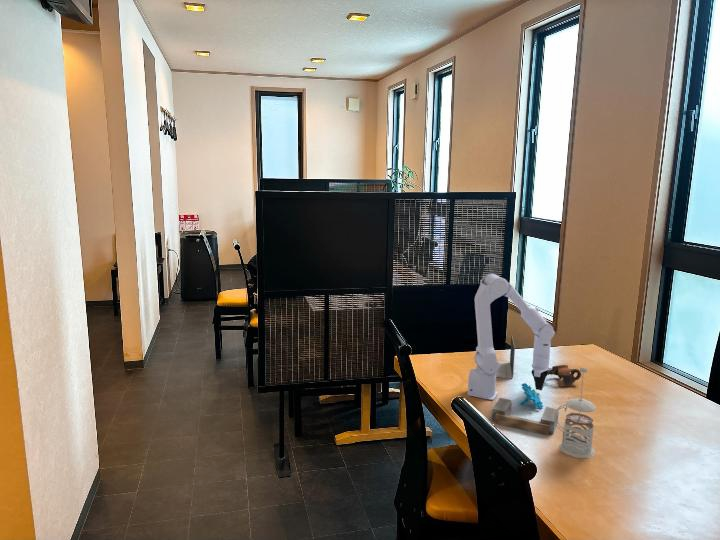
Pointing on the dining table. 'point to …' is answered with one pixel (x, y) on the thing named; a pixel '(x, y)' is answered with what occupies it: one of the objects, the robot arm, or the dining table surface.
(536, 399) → the blue knobby piece
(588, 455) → the french press
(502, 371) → the laptop
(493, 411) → the cradle
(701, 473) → the dining table surface
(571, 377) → the pottery mug
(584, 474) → the dining table surface
